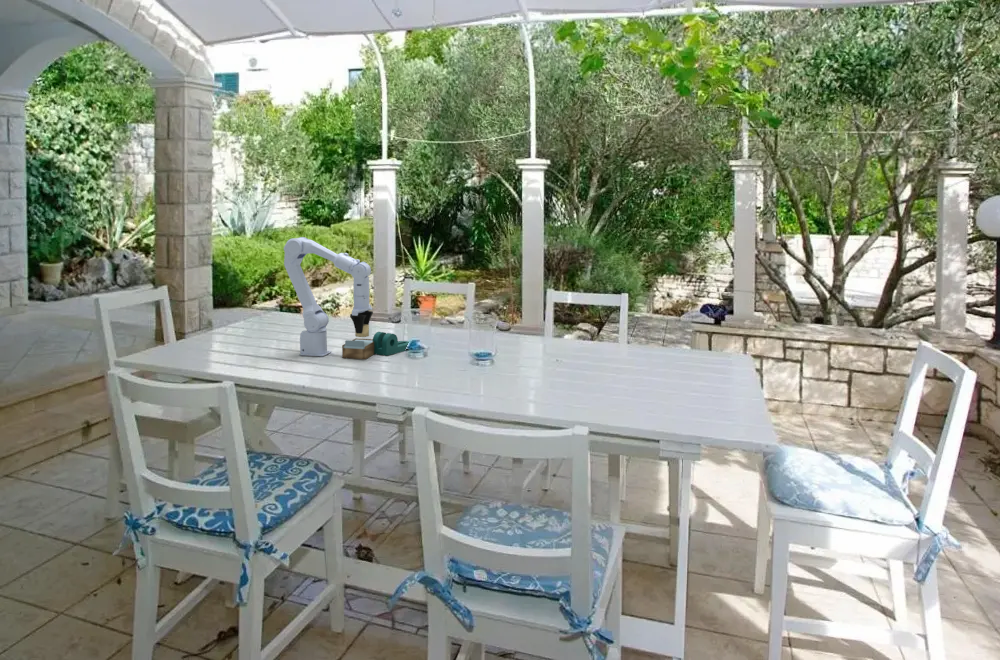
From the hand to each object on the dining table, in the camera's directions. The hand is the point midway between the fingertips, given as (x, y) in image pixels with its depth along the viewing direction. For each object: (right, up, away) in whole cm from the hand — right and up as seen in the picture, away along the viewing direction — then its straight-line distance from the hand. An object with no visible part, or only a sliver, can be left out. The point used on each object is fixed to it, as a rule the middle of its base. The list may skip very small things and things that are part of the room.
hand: (361, 331), depth 276 cm
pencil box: (-1, -9, +4) cm, 10 cm away
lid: (-1, -5, +3) cm, 6 cm away
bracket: (+10, -8, +12) cm, 18 cm away
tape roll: (0, -1, 0) cm, 2 cm away
